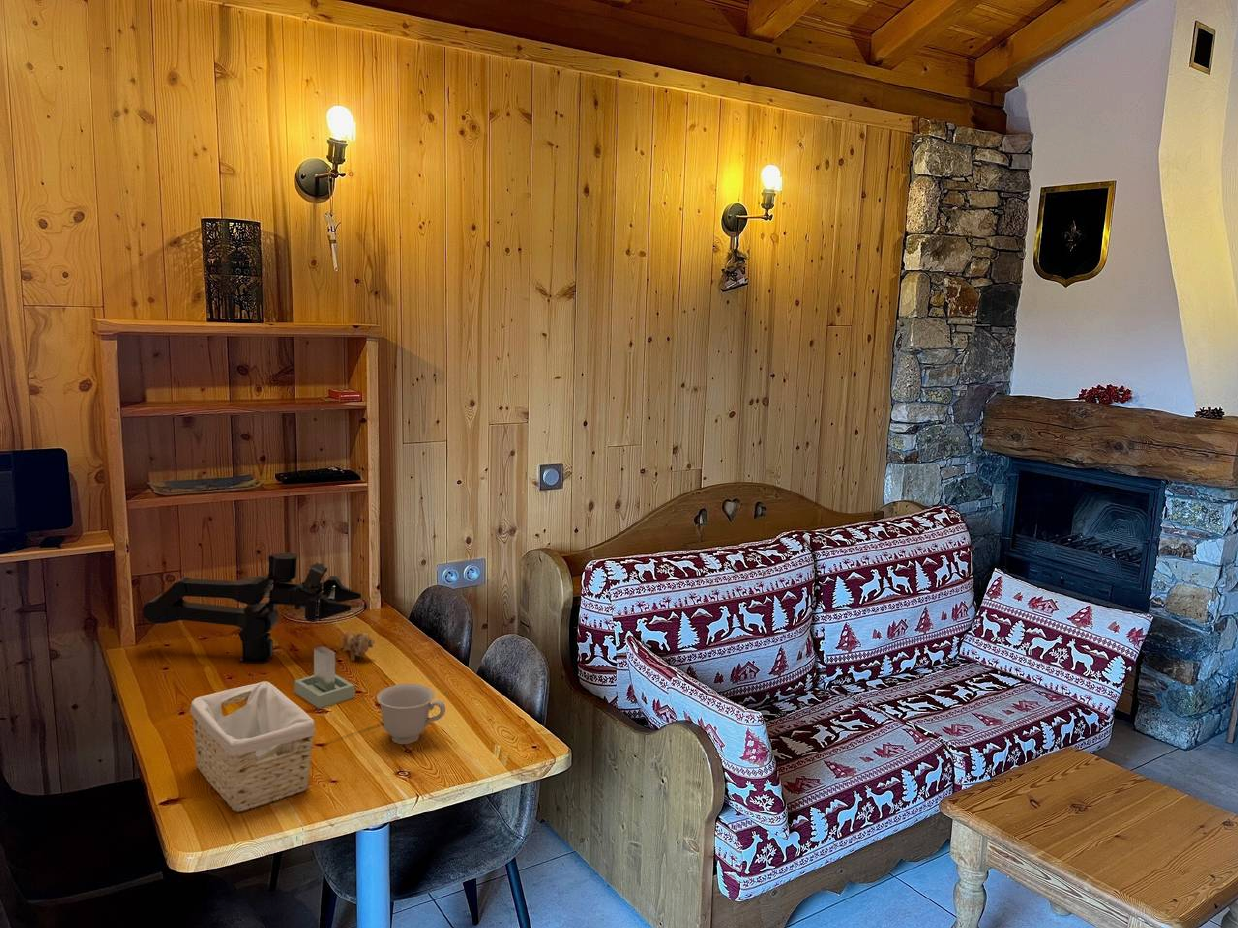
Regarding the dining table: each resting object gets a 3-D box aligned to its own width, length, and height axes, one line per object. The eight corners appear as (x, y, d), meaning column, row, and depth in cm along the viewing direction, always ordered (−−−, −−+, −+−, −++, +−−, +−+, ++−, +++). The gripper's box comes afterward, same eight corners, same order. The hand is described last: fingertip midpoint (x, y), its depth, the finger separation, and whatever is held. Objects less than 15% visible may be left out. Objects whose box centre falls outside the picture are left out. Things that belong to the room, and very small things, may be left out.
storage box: (294, 696, 213) (294, 680, 212) (329, 685, 219) (329, 670, 219) (319, 712, 206) (319, 696, 205) (354, 701, 212) (354, 685, 211)
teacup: (432, 757, 190) (433, 712, 188) (366, 746, 193) (367, 702, 191) (454, 731, 202) (455, 689, 200) (391, 721, 204) (392, 680, 203)
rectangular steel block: (314, 692, 213) (314, 648, 211) (323, 689, 215) (323, 646, 213) (325, 699, 210) (325, 654, 208) (334, 696, 212) (334, 652, 210)
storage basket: (188, 765, 181) (187, 696, 179) (269, 743, 192) (269, 677, 189) (232, 820, 164) (230, 745, 161) (318, 792, 175) (318, 720, 172)
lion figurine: (376, 666, 233) (377, 633, 232) (358, 671, 230) (358, 638, 228) (349, 648, 244) (349, 617, 242) (330, 653, 240) (330, 621, 238)
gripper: (283, 575, 220) (348, 583, 221) (308, 554, 239) (367, 561, 239) (281, 619, 222) (344, 626, 223) (305, 594, 241) (364, 601, 241)
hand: (356, 601), depth 232 cm, fingers open, 9 cm apart
